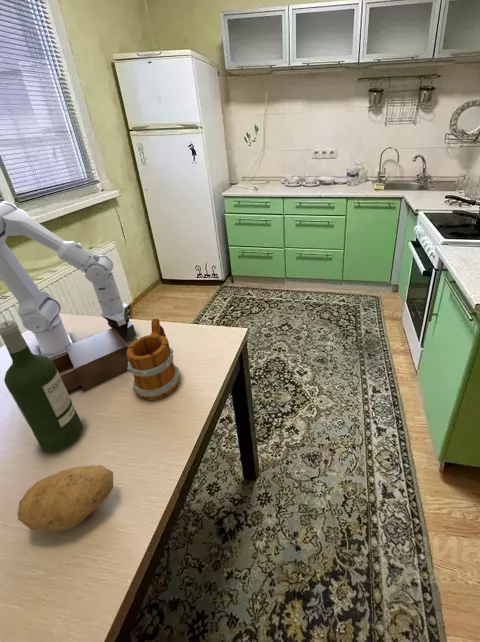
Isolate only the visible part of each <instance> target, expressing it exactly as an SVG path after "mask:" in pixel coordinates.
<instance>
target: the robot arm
mask: <svg viewBox="0 0 480 642" xmlns="http://www.w3.org/2000/svg"><path fill="white" fill-rule="evenodd" d="M12 236H13V237H15V236H25V237H27V238H28V239H31V240H32V241H34V242H37V243H38V244H41V245H43V246H45V247H46V248H48V249H51V250H52V251H54V252H56V254H57V256H58V259H59V260H61V261H63V262H65V263H67V264H68V265H70V266H72V267H73V268H75V269H77V270H79V271H80V272H82V273H84V278H86V279H87V281H89V282H90V283H91V284H92V287H93V290H94V293H95V295H96V299H97V302H98V304H99V307H100V309H101V314H100V315H101V317H102V318H104V319H105V320H106V322H107V323H106V324H107V325H108V326H109V328H110V329H111V328H115V329H116V330H117V332H118V333H119V334H120V336H121V337H122V339H124V338H126V337H127V336H128V331H127V327H128V322H130V316H129V315H126V316H125V310H126V309H128V308H129V306H128V304H127V303H123V301H122V298H121V295H120V291H119V288H118V285H117V282H116V279H115V277H114V274H113V272H112V271H113V269H114V264H113V261H112V260H111V259H110V258H109V257H108V256H107V255H103V254H97V253H94V252H92V251H90V250H89V249H87V248H85V247H84V244H83V243H81V242H75V240H70V241H66V240H64V239H63V238H61V237H60V236H59V235H57V234H55V233H54V232H52V231H51V230H49V229H47V227H45V226H44V225H42V224H40V223H39V222H37V221H36V220H34V219H33V218H31V217H30V215H29V214H28V213H27V212H26V211H25V210H23V209H21V208H18V207H17V206H16V205H15V204H14V203H12V202H8V201H0V280H1V281H2V283H3V284H4V285H5V286H6V288H7V289H8V290H9V291H10V293H11V294H12V296H13V297H14V298H15V299H16V301H17V302H18V307H17V308H18V310H17V313H18V315H19V317H20V318H21V323H22V326H23V328H25V329H26V330H27V331H29V332H32V333H33V335H34V338H35V339H36V341H37V344H38V348H39V351H40V355H44V356H46V357H48V358H50V359H52V358H55V357H57V356H59V355H62V354H64V353H67V351H66V349H65V347H66V346H68V345H71V344H73V343H74V342H73V340H72V339H71V336H70V334H69V333H68V332H67V330H66V328H65V325H64V323H63V320H62V317H61V315H60V312H61V310H62V305H61V303H60V301H58V300H57V299H56V298H54V297H53V296H51V294H50V293H49V292H48V291H47V292H46V291H41V290H40V289H39V287H38V286H37V284H36V283H35V282H34V280H33V278H31V276H30V275H29V273H28V272H27V271H26V269H25V267H23V264H22V263H20V261H19V259H18V258H17V257H16V255H15V254H14V252H13V251H12V250H11V249H10V247H9V246H8V244H7V243H6V240H7V238H8V237H12Z"/></svg>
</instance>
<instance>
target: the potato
mask: <svg viewBox="0 0 480 642" xmlns="http://www.w3.org/2000/svg"><path fill="white" fill-rule="evenodd" d="M113 489H114V471H113V470H111V469H109V468H107V467H105V466H103V465H101V464H100V465H99V464H97V465H95V464H94V465H83V466H76V467H72V468H67V469H64V470H60V471H59V472H56V473H54V474H51V475H49V476H46V477H44V478H42V479H40V480H38V481H36V482H35V483H34V484H33V485H31V487H29V488H28V489H27V490H26V491H25V493H24V495H23V496H22V498H21V499H20V501H19V502H18V507H17V509H18V510H17V520H18V521H19V522H20V523H21V524H23V525H24V526H25V527H27V528H28V529H30V530H32V531H41V532H45V533H55V532H62V531H66V530H71V529H72V528H73V527H74V528H75V526H77V525H79V524H80V523H81V522H83V521H84V520H85V519H86V518H87V517H88V516H89V515H91V514H92V513H93V512H94V511H96V510H97V509H98V508H99V507H100V506H101V505H102V504H103V503H104V502H105V501H106V500H107V499H108V497H109V496H110V494H111V492H112V491H113Z"/></svg>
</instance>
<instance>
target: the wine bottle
mask: <svg viewBox="0 0 480 642" xmlns="http://www.w3.org/2000/svg"><path fill="white" fill-rule="evenodd" d="M0 337H1V339H2V341H3V343H4V346H5V347H6V350H7V352H8V355H9V356H10V358H11V361H12V362H11V365H10V366H9V367H8V369H7V370H6V372H5V375H4V379H3V380H4V384H5V386H6V388H7V390H8V392H9V394H10V395H11V397H12V399H13V401H14V402H15V404H16V406H17V408H18V409H19V411H20V413H21V414H22V417H23V419H24V420H25V422H26V423H27V426H28V427H29V429H30V430H31V432H32V434H33V436H34V437H35V439H36V442H37V443H38V445H39V446H40V448H41V450H42V451H44V452H47V453H56V452H60V451H62V450H65V449H66V448H68V447H70V446H72V445H73V444H74V443H75V442H76V441H77V440H78V439H79V438H80V436H81V435H82V432H83V430H84V429H83V423H82V420H81V419H80V417H79V414H78V412H77V409H76V407H75V405H74V403H73V401H72V399H71V396H70V394H69V391H68V392H67V390H66V388H65V386H64V383H63V381H62V379H61V377H60V375H59V372H58V370H57V368H56V366H55V364H54V362H53V361H52V358H48V357H46V356H44V355H42V354H34V353H33V352H32V351H31V349H30V347H29V345H28V343H27V342H26V340H25V337H23V334H22V333H21V331H20V329H19V325H18V324H17V322H15V320H6V321H3V322H1V323H0Z"/></svg>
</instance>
